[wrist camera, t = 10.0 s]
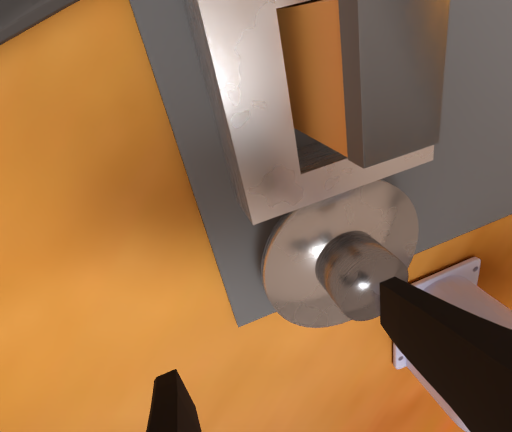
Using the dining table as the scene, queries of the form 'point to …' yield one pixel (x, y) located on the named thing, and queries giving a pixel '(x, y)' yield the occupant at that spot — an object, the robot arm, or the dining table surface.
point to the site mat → (408, 181)
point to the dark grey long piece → (26, 15)
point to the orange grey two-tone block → (367, 74)
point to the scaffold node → (299, 176)
